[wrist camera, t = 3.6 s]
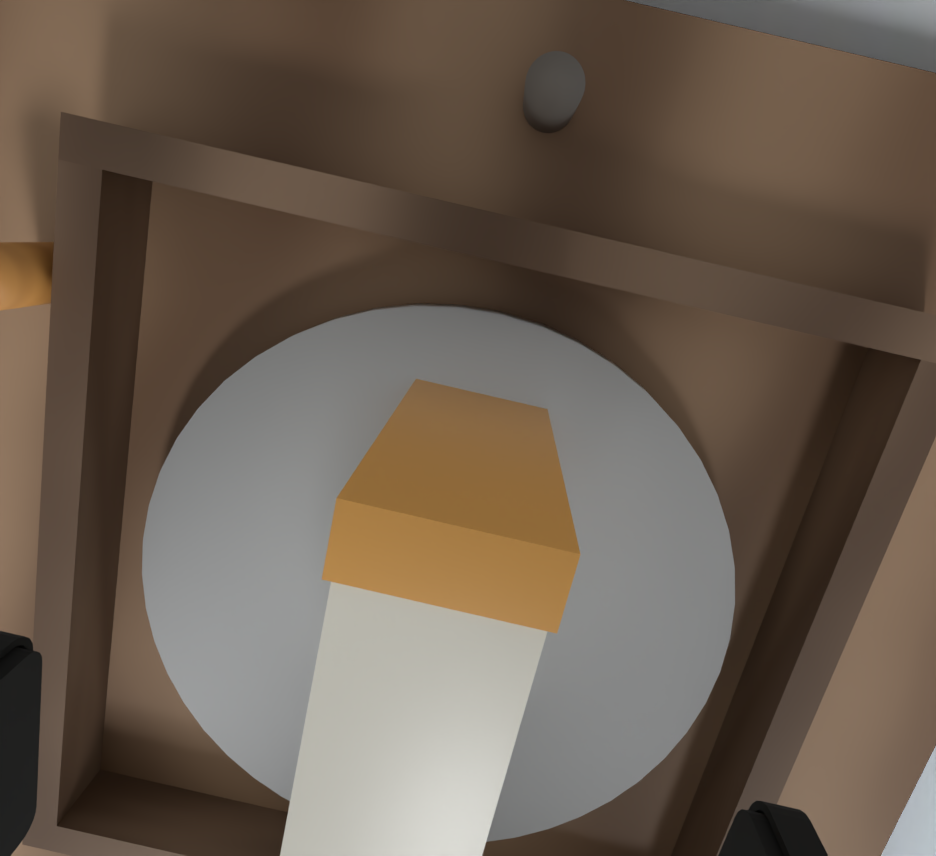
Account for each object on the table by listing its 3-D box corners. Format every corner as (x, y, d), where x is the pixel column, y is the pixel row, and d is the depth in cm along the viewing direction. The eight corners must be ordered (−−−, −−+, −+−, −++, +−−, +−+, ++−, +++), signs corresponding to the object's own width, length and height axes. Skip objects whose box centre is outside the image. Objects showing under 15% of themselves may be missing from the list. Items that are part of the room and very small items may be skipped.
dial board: (1174, 150, 14) (1406, 120, 10) (760, 1021, 21) (812, 1185, 17) (-38, -133, 14) (-231, -264, 10) (-52, 835, 20) (-170, 961, 17)
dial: (809, 382, 14) (1114, 529, 7) (630, 865, 18) (712, 1288, 10) (191, 238, 14) (-135, 239, 7) (136, 752, 18) (-117, 1101, 10)
